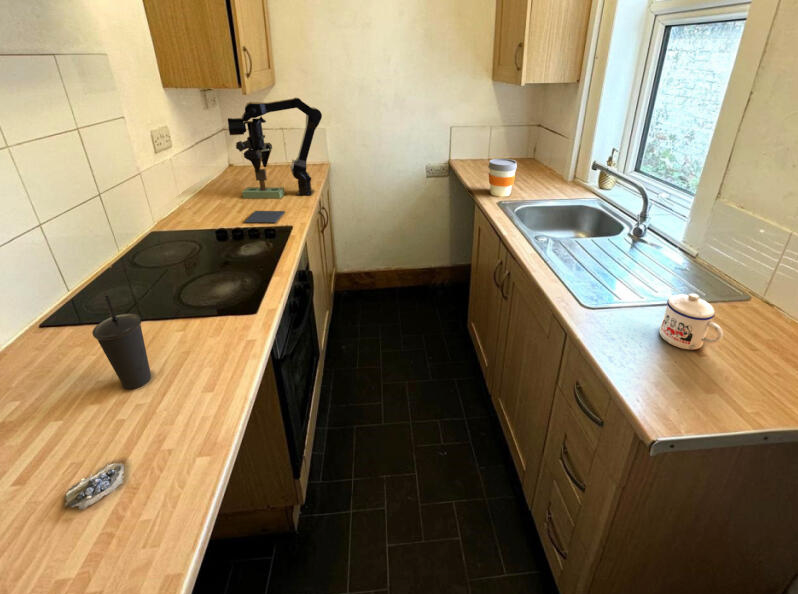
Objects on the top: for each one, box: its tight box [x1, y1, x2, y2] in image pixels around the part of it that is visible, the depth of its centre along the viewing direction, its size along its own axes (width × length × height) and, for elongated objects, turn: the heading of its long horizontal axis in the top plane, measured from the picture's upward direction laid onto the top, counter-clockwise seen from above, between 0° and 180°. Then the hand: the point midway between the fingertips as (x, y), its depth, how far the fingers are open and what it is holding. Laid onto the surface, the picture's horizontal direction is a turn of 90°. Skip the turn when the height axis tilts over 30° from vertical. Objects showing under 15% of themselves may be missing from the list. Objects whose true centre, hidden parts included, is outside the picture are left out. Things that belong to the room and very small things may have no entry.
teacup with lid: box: [659, 293, 724, 350], centre depth 93 cm, size 12×9×12 cm
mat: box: [243, 210, 285, 224], centre depth 165 cm, size 12×12×1 cm
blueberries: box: [63, 462, 125, 511], centre depth 63 cm, size 7×8×2 cm
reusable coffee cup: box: [488, 158, 518, 197], centre depth 191 cm, size 12×13×15 cm
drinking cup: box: [91, 295, 152, 390], centre depth 79 cm, size 8×8×20 cm
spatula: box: [254, 168, 268, 191], centre depth 188 cm, size 2×4×12 cm, turn 89°
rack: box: [241, 186, 286, 199], centre depth 190 cm, size 7×17×3 cm, turn 89°
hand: (261, 169), depth 182 cm, fingers open, 9 cm apart
